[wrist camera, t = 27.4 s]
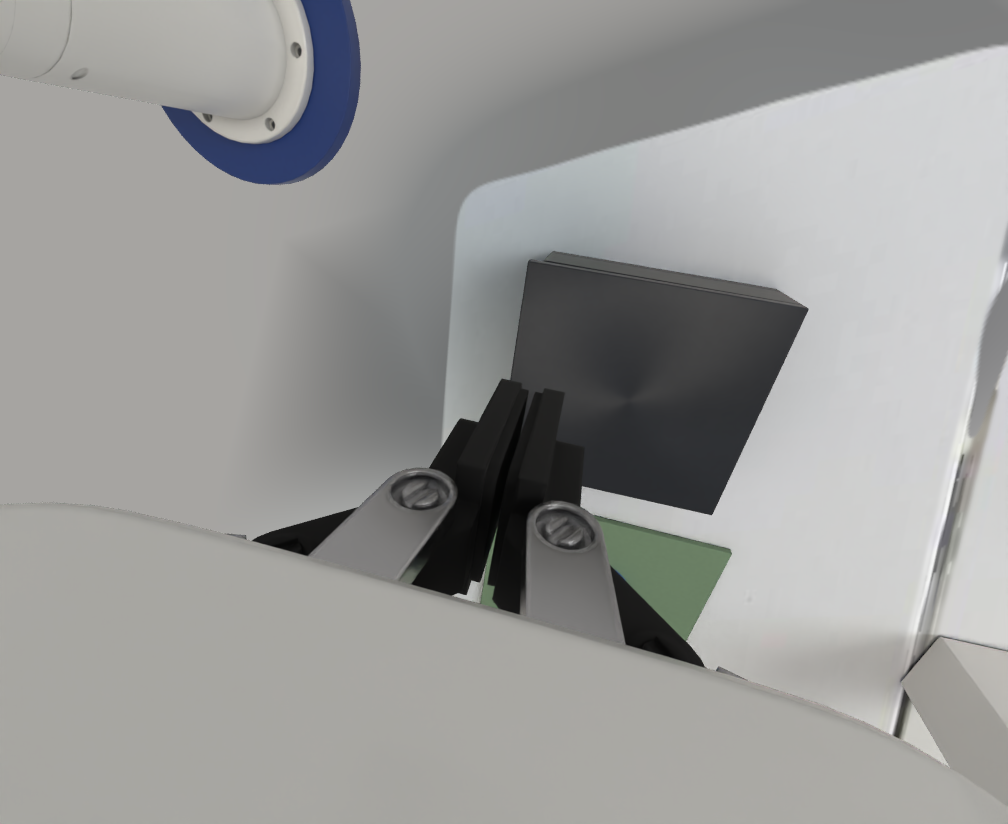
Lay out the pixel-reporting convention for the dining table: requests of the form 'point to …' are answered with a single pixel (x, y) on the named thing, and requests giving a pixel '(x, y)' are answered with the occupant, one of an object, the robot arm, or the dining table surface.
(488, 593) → the mat
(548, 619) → the robot arm
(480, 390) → the dining table surface
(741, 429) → the black box top
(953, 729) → the milk carton
